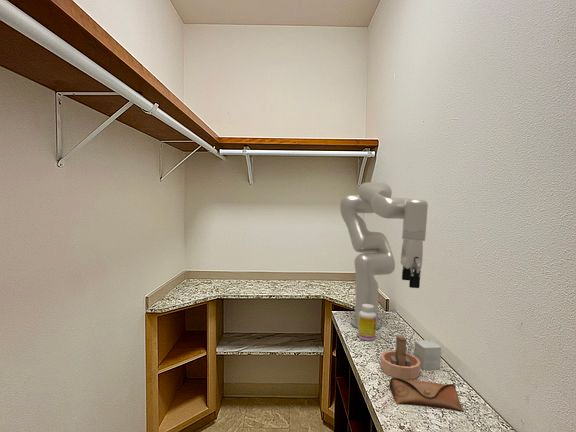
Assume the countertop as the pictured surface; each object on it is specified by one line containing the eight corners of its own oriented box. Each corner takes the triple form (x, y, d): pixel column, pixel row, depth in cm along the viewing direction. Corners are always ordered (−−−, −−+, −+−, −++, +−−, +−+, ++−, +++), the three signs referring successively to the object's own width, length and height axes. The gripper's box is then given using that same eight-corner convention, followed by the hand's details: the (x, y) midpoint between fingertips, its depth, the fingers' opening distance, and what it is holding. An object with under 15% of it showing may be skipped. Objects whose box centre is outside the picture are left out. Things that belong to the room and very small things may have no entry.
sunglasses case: (394, 404, 87) (393, 376, 90) (389, 404, 93) (388, 377, 96) (467, 412, 84) (463, 383, 88) (457, 411, 91) (454, 384, 94)
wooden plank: (395, 364, 108) (396, 334, 107) (401, 365, 108) (402, 334, 107) (398, 371, 104) (399, 339, 103) (405, 371, 104) (406, 339, 103)
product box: (412, 361, 112) (413, 340, 112) (429, 360, 113) (430, 339, 113) (423, 370, 106) (424, 347, 106) (440, 369, 107) (441, 347, 107)
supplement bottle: (375, 342, 127) (377, 308, 127) (358, 340, 128) (359, 307, 128) (374, 335, 133) (376, 303, 133) (358, 333, 135) (359, 302, 134)
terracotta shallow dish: (377, 360, 112) (377, 349, 112) (412, 362, 111) (413, 351, 111) (385, 378, 100) (386, 366, 100) (425, 380, 99) (425, 368, 99)
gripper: (396, 231, 124) (393, 276, 125) (409, 238, 107) (405, 290, 108) (417, 232, 123) (414, 278, 125) (433, 239, 106) (429, 291, 107)
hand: (410, 283), depth 116 cm, fingers open, 9 cm apart
